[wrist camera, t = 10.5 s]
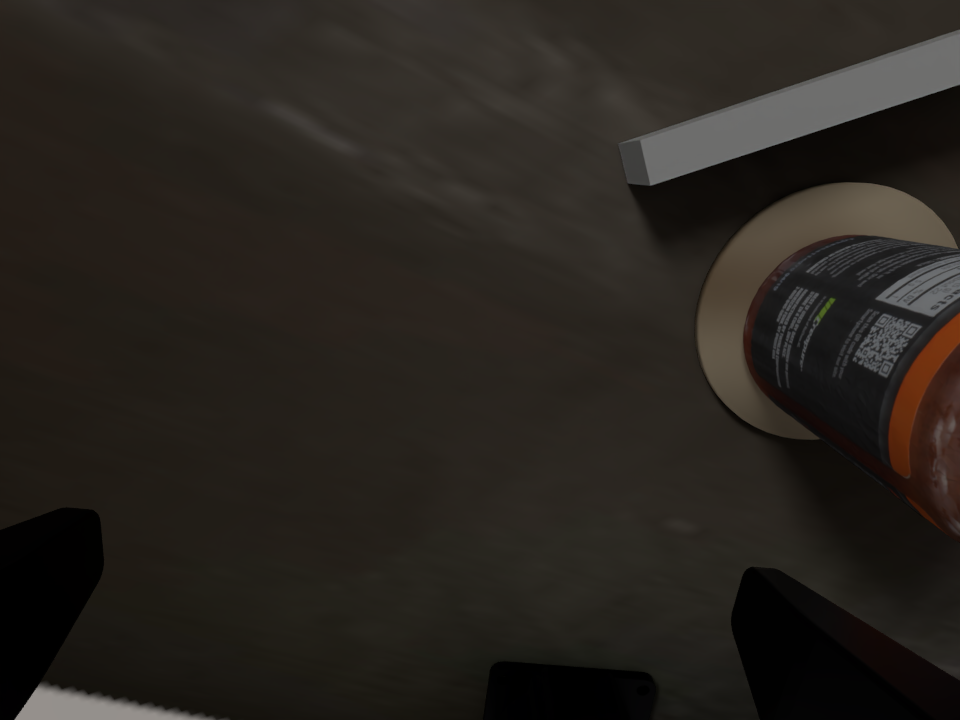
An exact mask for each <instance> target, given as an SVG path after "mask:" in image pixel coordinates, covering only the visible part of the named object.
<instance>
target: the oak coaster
mask: <svg viewBox="0 0 960 720" xmlns="http://www.w3.org/2000/svg"><path fill="white" fill-rule="evenodd" d="M842 235H868V236H872V235H873V236H880V237H887V238H893V239H898V240H906V241H912V242H918V243H924V244H931V245H938V246H944V247H950V248H956V249H958V247H957V245H956V243H955V240H954V238H953V236H952V234H951V233H950V231H949V230H948V228H947V227H946V225H945V224H944V222H943V221H942V220H941V219H940V218H939V217H938V216H937V215H936V214H935V213H934V212H933V211H932V210H931V209H930V208H929V207H927V206H926V205H925V204H923V203H922V202H921V201H919V200H918V199H916V198H914V197H912V196H910V195H908V194H907V193H905V192H902V191H899V190H896V189H893V188H891V187H887V186H882V185H877V184H872V183H851V182H840V183H829V184H822V185H818V186H813V187H809V188H805V189H803V190H800V191H797V192H794V193H792V194H789V195H787V196H785V197H783V198H781V199H779V200H777V201H775V202H773V203H771V204H770V205H768V206H767V207H765V208H764V209H762V210H761V211H759V212H758V213H756V214H755V215H754V216H753V217H752V218H750V219H749V220H748V221H747V222H746V223H744V224H743V225H742V226H741V227H740V228H739V229H738V230H737V231H736V233H735V234H734V235H733V236H732V237H731V238H730V239H729V240H728V241H727V243H726V244H725V246H724V247H723V248H722V250H721V251H720V252H719V254H718V255H717V257H716V259H715V260H714V262H713V264H712V266H711V267H710V269H709V271H708V273H707V276H706V278H705V281H704V283H703V285H702V288H701V292H700V295H699V299H698V302H697V308H696V315H695V343H696V351H697V355H698V359H699V362H700V366H701V368H702V371H703V373H704V375H705V377H706V380H707V381H708V383H709V384H710V386H711V388H712V389H713V391H714V392H715V393H716V395H717V396H718V397H719V398H720V399H721V400H722V402H723V403H724V404H725V405H726V406H727V407H729V408H730V409H731V410H732V411H733V412H734V413H735V414H737V415H738V416H739V417H740V418H741V419H743V420H744V421H746V422H748V423H749V424H751V425H752V426H754V427H756V428H758V429H761V430H763V431H765V432H767V433H771V434H774V435H777V436H781V437H786V438H793V439H806V440H816V439H820V438H819V437H817V436H816V435H814V434H813V433H812V432H811V431H809V430H808V429H806V428H805V427H804V426H803V425H801V424H800V423H799V422H797V421H796V420H795V419H794V418H792V417H791V416H789V415H788V414H786V413H785V412H784V411H783V410H782V409H780V408H779V407H777V406H776V405H775V404H774V403H773V402H772V401H771V400H770V399H769V398H768V397H767V396H766V395H765V394H764V393H763V392H762V391H761V390H760V389H759V387H758V386H757V384H756V383H755V381H754V379H753V377H752V375H751V374H750V371H749V368H748V365H747V362H746V359H745V354H744V348H743V347H744V344H743V333H744V326H745V322H746V317H747V313H748V310H749V307H750V305H751V302H752V300H753V298H754V296H755V295H756V293H757V291H758V289H759V287H760V286H761V285H762V283H763V282H764V281H765V279H766V278H767V277H768V276H769V275H770V274H771V273H772V272H773V270H774V269H775V268H776V267H777V266H778V265H779V264H780V263H781V262H782V261H784V260H785V259H786V258H788V257H789V256H790V255H792V254H793V253H795V252H797V251H798V250H800V249H802V248H804V247H806V246H808V245H810V244H812V243H815V242H817V241H820V240H824V239H827V238H831V237H836V236H842Z"/></svg>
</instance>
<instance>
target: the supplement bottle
mask: <svg viewBox="0 0 960 720" xmlns="http://www.w3.org/2000/svg"><path fill="white" fill-rule="evenodd" d="M743 344H744V347H743V348H744V354H745V359H746V362H747V365H748V368H749V371H750V374H751V375H752V377H753V379H754V381H755V383H756V384H757V386H758V387H759V389H760V390H761V391H762V392H763V393H764V394H765V395H766V396H767V397H768V398H769V399H770V400H771V401H772V402H773V403H774V404H775V405H776V406H777V407H779V408H780V409H782V410H783V411H784V412H785V413H786V414H788V415H789V416H791V417H792V418H794V419H795V420H796V421H797V422H799V423H800V424H801V425H803V426H804V427H805V428H806V429H808V430H809V431H811V432H812V433H813V434H814V435H816V436H817V437H819V438H820V439H821V440H823V441H824V442H825V443H827V444H828V445H829V446H831V447H832V448H833V449H834V450H835V451H837V452H838V453H839V454H841V455H842V456H843V457H845V458H846V459H847V460H849V461H850V462H851V463H853V464H854V465H855V466H856V467H858V468H859V469H861V470H862V471H863V472H865V473H866V474H867V475H869V476H870V477H871V478H873V479H874V480H875V481H877V482H878V483H879V484H880V485H882V486H883V487H884V488H886V489H887V490H888V491H890V492H891V493H892V494H893V495H895V496H896V497H897V498H898V499H900V500H901V501H903V502H904V503H905V504H907V505H908V506H909V507H911V508H912V509H913V510H914V511H916V512H917V513H918V514H919V515H921V516H922V517H924V518H926V519H927V520H929V521H930V522H931V523H933V524H934V525H935V526H936V527H938V528H939V529H940V530H942V531H943V532H944V533H946V534H947V535H948V536H950V537H951V538H953V539H954V540H956V541H958V542H959V543H960V249H956V248H950V247H944V246H938V245H931V244H924V243H918V242H912V241H906V240H898V239H893V238H887V237H880V236H873V235H872V236H868V235H842V236H836V237H831V238H827V239H824V240H820V241H817V242H815V243H812V244H810V245H808V246H806V247H804V248H802V249H800V250H798V251H797V252H795V253H793V254H792V255H790V256H789V257H788V258H786V259H785V260H784V261H782V262H781V263H780V264H779V265H778V266H777V267H776V268H775V269H774V270H773V272H772V273H771V274H770V275H769V276H768V277H767V278H766V279H765V281H764V282H763V283H762V285H761V286H760V287H759V289H758V291H757V293H756V295H755V296H754V298H753V300H752V302H751V305H750V307H749V310H748V313H747V317H746V322H745V326H744V333H743Z"/></svg>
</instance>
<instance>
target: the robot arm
mask: <svg viewBox="0 0 960 720" xmlns="http://www.w3.org/2000/svg"><path fill="white" fill-rule="evenodd" d="M103 566H104V556H103V544H102V533H101V522H100V517H99V515H98V514H97V513H96V512H95V511H94V510H90V509H79V508H67V507H66V508H60V509H57V510H54V511H52V512H49V513H46V514H43V515H41V516H38V517H35V518H32V519H30V520H27V521H24V522H21V523H19V524H16V525H13V526H10V527H7V528H5V529H2V530H0V720H14V719H15V718H16V717H17V715H18V714H19V712H20V711H21V710H22V708H23V707H24V705H25V704H26V702H27V701H28V700H29V698H30V697H31V695H32V694H33V692H34V691H35V689H36V688H37V686H38V685H39V683H40V681H41V680H42V678H43V677H44V675H45V673H46V672H47V670H48V669H49V667H50V665H51V663H52V662H53V660H54V658H55V656H56V655H57V653H58V651H59V649H60V648H61V646H62V644H63V643H64V641H65V639H66V637H67V636H68V634H69V632H70V630H71V629H72V627H73V625H74V624H75V622H76V620H77V618H78V617H79V615H80V613H81V611H82V610H83V608H84V606H85V604H86V603H87V601H88V599H89V598H90V596H91V594H92V592H93V591H94V589H95V587H96V585H97V584H98V582H99V580H100V577H101V575H102V571H103ZM731 626H732V632H733V635H734V639H735V642H736V645H737V648H738V651H739V654H740V657H741V661H742V664H743V667H744V670H745V673H746V676H747V680H748V683H749V686H750V689H751V692H752V695H753V699H754V702H755V705H756V708H757V711H758V714H759V718H760V720H960V681H959V680H958V679H956V678H954V677H953V676H951V675H949V674H948V673H946V672H945V671H943V670H941V669H940V668H938V667H936V666H935V665H933V664H931V663H930V662H928V661H927V660H925V659H923V658H922V657H920V656H918V655H917V654H915V653H914V652H912V651H910V650H909V649H907V648H905V647H904V646H902V645H901V644H899V643H897V642H896V641H894V640H892V639H891V638H889V637H888V636H886V635H884V634H883V633H881V632H879V631H878V630H876V629H874V628H873V627H871V626H870V625H868V624H866V623H865V622H863V621H861V620H860V619H858V618H857V617H855V616H853V615H852V614H850V613H848V612H847V611H845V610H844V609H842V608H840V607H839V606H837V605H835V604H834V603H832V602H831V601H829V600H827V599H826V598H824V597H822V596H821V595H819V594H817V593H816V592H814V591H813V590H811V589H809V588H808V587H806V586H804V585H803V584H801V583H800V582H798V581H796V580H795V579H793V578H791V577H790V576H788V575H787V574H785V573H783V572H782V571H780V570H777V569H773V568H761V567H750V568H748V569H746V571H745V572H744V574H743V576H742V579H741V583H740V586H739V590H738V593H737V597H736V600H735V604H734V607H733V611H732V616H731ZM500 675H507V676H505V677H500ZM642 685H645V686H643V687H640V686H642ZM655 692H656V687H655V684H654V681H653V679H652V677H651V676H650V675H649V674H648V673H644V672H634V671H621V670H608V669H595V668H582V667H569V666H556V665H543V664H530V663H517V662H498V663H495V664H494V665H493V666H492V667H491V669H490V674H489V681H488V688H487V695H486V702H485V709H484V716H483V720H649V717H650V713H651V708H652V704H653V700H654V696H655Z"/></svg>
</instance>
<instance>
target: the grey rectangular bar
mask: <svg viewBox="0 0 960 720" xmlns="http://www.w3.org/2000/svg"><path fill="white" fill-rule="evenodd" d="M957 85H960V30H957V31H954V32H951V33H948V34H945V35H942V36H939V37H936V38H933V39H930V40H927V41H924V42H921V43H918V44H915V45H912V46H909V47H906V48H903V49H900V50H897V51H894V52H891V53H888V54H885V55H882V56H879V57H876V58H873V59H870V60H867V61H864V62H861V63H858V64H855V65H852V66H849V67H846V68H843V69H840V70H837V71H834V72H831V73H828V74H825V75H822V76H819V77H816V78H813V79H810V80H807V81H804V82H801V83H798V84H795V85H792V86H789V87H786V88H783V89H780V90H777V91H774V92H771V93H768V94H765V95H762V96H759V97H756V98H753V99H750V100H747V101H744V102H741V103H738V104H736V105H733V106H730V107H727V108H724V109H721V110H718V111H715V112H712V113H709V114H706V115H703V116H700V117H697V118H694V119H691V120H688V121H685V122H682V123H679V124H676V125H673V126H670V127H667V128H664V129H661V130H658V131H655V132H652V133H649V134H646V135H643V136H640V137H637V138H634V139H631V140H628V141H625V142H622V143H619V144H618V145H619V150H620V154H621V158H622V162H623V166H624V171H625V175H626V179H627V183H628V184H638V185H648V186H651V185H654V184H657V183H660V182H663V181H667V180H670V179H673V178H676V177H679V176H682V175H685V174H688V173H691V172H694V171H697V170H700V169H703V168H706V167H709V166H712V165H715V164H719V163H722V162H725V161H728V160H731V159H734V158H737V157H740V156H743V155H746V154H749V153H752V152H755V151H758V150H761V149H764V148H767V147H770V146H774V145H777V144H780V143H783V142H786V141H789V140H792V139H795V138H798V137H801V136H804V135H807V134H810V133H813V132H816V131H819V130H822V129H825V128H829V127H832V126H835V125H838V124H841V123H844V122H847V121H850V120H853V119H856V118H859V117H862V116H865V115H868V114H871V113H874V112H877V111H880V110H884V109H887V108H890V107H893V106H896V105H899V104H902V103H905V102H908V101H911V100H914V99H917V98H920V97H923V96H926V95H929V94H932V93H936V92H939V91H942V90H945V89H948V88H951V87H954V86H957Z"/></svg>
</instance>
